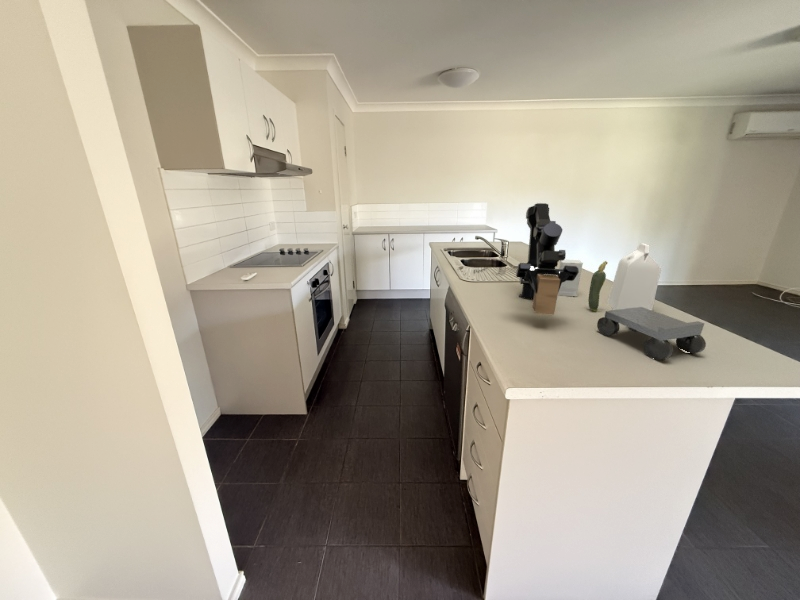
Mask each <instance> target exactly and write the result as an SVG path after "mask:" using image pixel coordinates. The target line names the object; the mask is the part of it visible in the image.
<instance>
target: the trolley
mask: <svg viewBox="0 0 800 600" xmlns="http://www.w3.org/2000/svg"><path fill="white" fill-rule="evenodd" d="M705 324H706V323H704V322H702V321H697V320H696V321H690V322H685V321H684V320H680V319H678V318H676V317H675V318H674V317H671V316H668V315H666V314H663V313H660V312H657V311H654V310H653V309H652V310H649V309H646V308H643V307H636V308H627V309H619V310H613V309H611V310H606V311H605V313H604V316H603V317H600V318H599V319H598V320H597V323H596V327H597V331H598V332H599V333H600V334H601V335H603V336H613V335H616V334H618V333H619V331H620V325H622V326H626V327H628V329H629V330H631V329H632V330H634V331H633V332H640V333H642V334H644V335H647V336H649V337H651V338H648V339H647V340H646V341H645V342H644V345H643V348H644V349H643V350H644V352H645V354H646V355H647V357H649V356H650V357H652V358H654V359H653V360H655V359H656V361H660V360H666V359H669V358H670V357H672V355H673V353H674V348H673V345H672V344H671V342H670V341H669V340H675V339H676V340H675V344H676V346H677V349H679V348H680V349H683V350H685V351H687V352H690V353H692V354H693V355H694V354H698V353H701V352H703V351H704V350H706V345H707V343H706V340H705V338H704V337H703V336H702V333H703V329H704V325H705ZM632 330H631V331H632ZM680 349H679V350H680ZM692 354H691V355H692ZM650 357H649V358H650ZM652 358H651V359H652Z"/></svg>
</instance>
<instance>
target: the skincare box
mask: <svg viewBox="0 0 800 600" xmlns="http://www.w3.org/2000/svg"><path fill="white" fill-rule="evenodd" d="M583 264H584V262H583V261H581V260H580V259H564V260H563V261H562V260H559V268H558V269H563V268H564V266H565V265H568V266H577V267H578V270H579V273H578V274H577V276H576V277H575V279H574V280H573V281H565V282H562V284H561V287H560V289H559V292H558V296H560V295H563V296H564V297H573V296H578V291H579V285H580V281H581V280H580V279H581V274H582V268H583ZM563 296H562V297H563Z"/></svg>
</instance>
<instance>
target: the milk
mask: <svg viewBox="0 0 800 600" xmlns="http://www.w3.org/2000/svg"><path fill="white" fill-rule="evenodd" d="M650 247H651V246H650V245H649V244H646V243H643V242H641V243H640V242H639V243H638V246H637V249H636V250H634V251H632V252H630V253H629V254H627V255H625V256H623V258H621V259H620V260H619V262H618V264H617V268H616V271H615V275H614V279H613V280H612V281H613V282H612V286H611V288H610V292H609V296H608V299H607V302H608V303H609V304H610V305H611V307H612V308H613V309H614V310H619V309H627V308H636V307H643V308H646V309H649V310H652V311H653V308H654V302H655V298H656V294H657V290H658V285H659V281H660V276H661V271H662V268H661V266H660V264H659V263H658V262H657V261H656V260H655V259H654V257H653V256H652V255H651V254H650ZM608 303H607V304H608ZM611 307H610V308H611ZM612 308H611V309H612ZM613 309H612V310H613Z"/></svg>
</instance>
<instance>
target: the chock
mask: <svg viewBox="0 0 800 600" xmlns="http://www.w3.org/2000/svg"><path fill="white" fill-rule="evenodd" d="M559 284H560V279H559V278H558V276H557V275H548V274H544V275H543V274H537V293H535V292H534V299H533V301H532V305H531V307H532V310H533V311H534V314H541V315H555V312H556V306H557V301H558V300H557V299H558V296H559V295H558V290H559Z"/></svg>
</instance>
